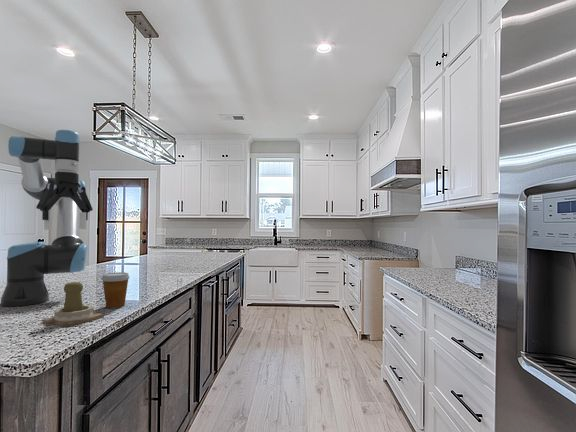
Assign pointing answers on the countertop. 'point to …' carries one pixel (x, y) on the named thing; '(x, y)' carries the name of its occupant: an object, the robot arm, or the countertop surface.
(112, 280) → the disposable coffee cup
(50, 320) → the collar base
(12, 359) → the countertop surface
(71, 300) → the olive knobbed peg
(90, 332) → the countertop surface
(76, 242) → the robot arm
